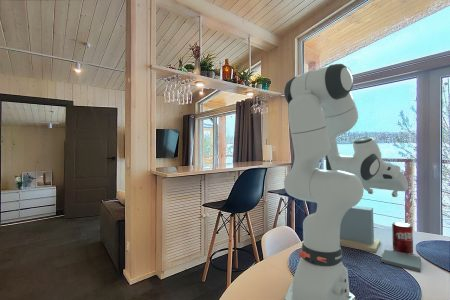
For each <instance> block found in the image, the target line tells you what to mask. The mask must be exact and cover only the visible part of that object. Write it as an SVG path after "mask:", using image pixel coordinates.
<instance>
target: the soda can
mask: <svg viewBox="0 0 450 300" xmlns="http://www.w3.org/2000/svg"><path fill="white" fill-rule="evenodd" d="M391 231H392V232H391V233H392V234H391V235H392V237H391V238H392V239H391V240H392V249H393V251H394V252H399V253H404V254H408V255H412V254H414V235H413V234H414V230H413V226H412V224H410V223H407V222H398V221H397V222H396V221H395V222H393V223H391Z"/></svg>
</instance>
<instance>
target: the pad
mask: <svg viewBox="0 0 450 300" xmlns="http://www.w3.org/2000/svg"><path fill="white" fill-rule="evenodd" d="M380 262H381V263H383V262H384V263H383V264H388V265H392V266H395V267H400V268H402V269H403V268H404V269H408V270H413V271H417V272H421V256H418V255H412V254H404V253H399V252H396V251H395V250H393V251H392V250H388V249H384V250H383V253H382V255H381V258H380Z"/></svg>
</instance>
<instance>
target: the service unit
mask: <svg viewBox="0 0 450 300" xmlns="http://www.w3.org/2000/svg"><path fill="white" fill-rule="evenodd" d="M374 224H375V223H374V207H369V206H368V207H367V206H360V205H359V206H358V205H355V206H353V207H352V208H350V209H349V210H348V211H347V212H346V213H345V215H344V216H343V219H342V221H341V226H340V246H344V247H348V248H353V249H358V250H362V251H367V252H371V253H377V252H378V249H379V247H380V244H381V239H378V238H375V232H374V231H375V229H374V226H375V225H374Z"/></svg>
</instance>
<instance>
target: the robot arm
mask: <svg viewBox="0 0 450 300" xmlns="http://www.w3.org/2000/svg"><path fill="white" fill-rule="evenodd" d="M353 85H354V77H353V73H352V70H351V69H350V67H348V66H347V65H346V64H343V63H336V64H329V66H325V67H321V68H318V69H312V70H309V71H307V72H304V73H302V74H300V75H298V76H294V77H292V78H291V79H289V80H288V81H286V84H285V86H284V89H283V91H284V92H283V93H284V98H285V101H286V102H287V104H288V108H287V109H288V111H287V112H288V125H289V130H290V136H291V140H292V146H293V154H294V158H293V159H294V160H293V165H292V167H291V169H290V171H288V172H287V174H286V175H285V178H284V182H283V185H284V186H283V187H284V190H285V193H286V194H287V195H289V196H290V197H293V198H294V199H297V200H300V201H305V202H311V203H316V210H315V212H313V213H310V214H309V215H307V216H306V217H305V218H304V219H303V221H302V237H303V238H302V239H303V242H302V246H301V250H299V251H298V257H299V258H300V259H299V262H298V264H297V266H296V270H295V273H294V275H293V279H292V281H291V284H290V285H289V287H288V289H287V292H286V293H285V296H284V300H356V296H355V295H354V294H353V293H352V292H351V291H350V285H349V284H350V283H349V273H348V269H347V267H346V266H345V265H344V264H343V251H342V246H341V245H340V226H341V221H342V219H343V216H344V215H345V213H346V212H347V211H348V210H349V209H350V208H352V207H353V206H358V204H359V203H361V200H362V199H363V196H364V190H365V191H367V193H368V194H369V195H373V194H374V190H373V189H377V190H378V189H379V190H385V191H386V190H388V191H391V196H392V197H393V198H397V197H398V195H399V194H398V192H406V191H407V189H408V187H409V182H408V180H407V177H406V176H405V173H403V172H401V166H400V165H397V164H392V163H388V162H386V161H385V160H384V159H383V158H382V152H381V149H380V147H379V145H378V142H377V141H376V140H375V138H373V137H371V136H365V137H364V136H362V137H357V138H356V139H354V140H353V141H352V147H353V151H354V153H353V155H343V154H341V153H340V152H339V147H338V142H337V137H339V136H341V135H344V134H345V133H348V132H350V131H351V130H352V129H353V127H355V125H356V124H357V122H358V119H359V112H358V108H357V106H356V103H355V99H354V98H353V95H352V93H351V91H352V89H353ZM324 158H325V169H321V168H320V160H322V159H324Z"/></svg>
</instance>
